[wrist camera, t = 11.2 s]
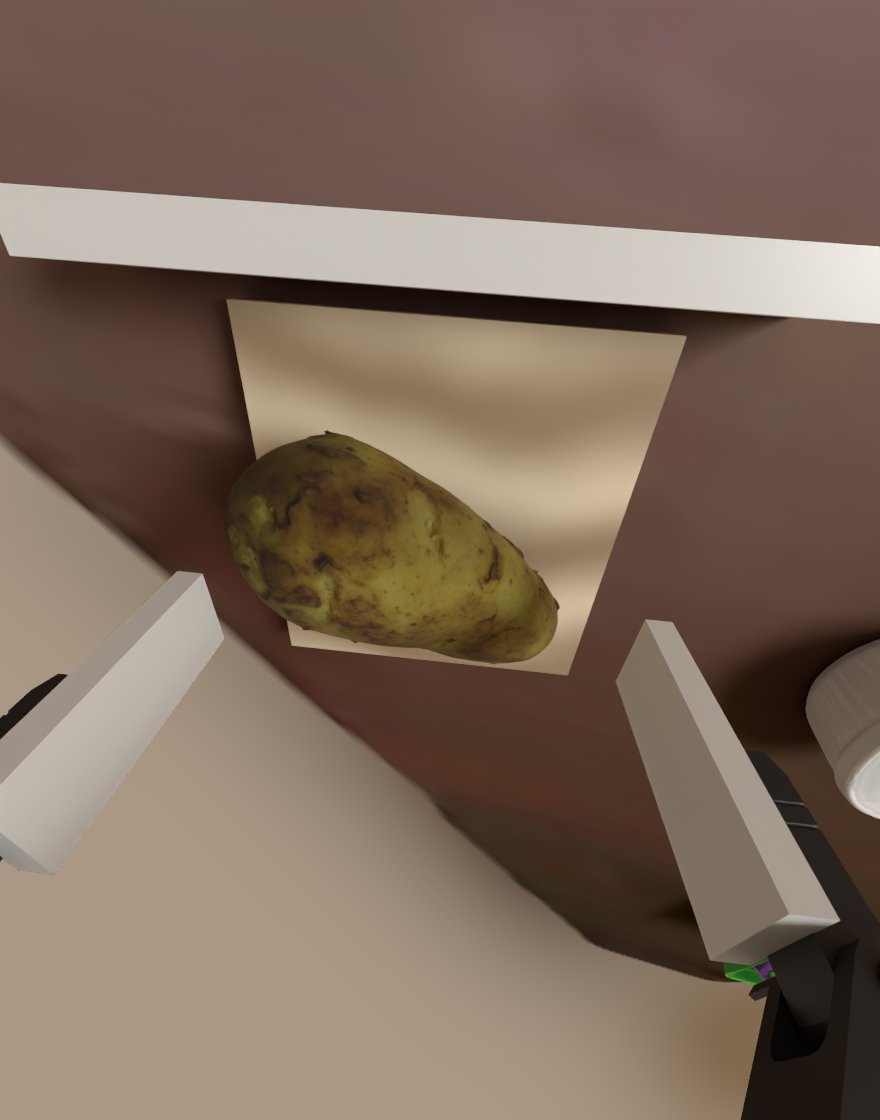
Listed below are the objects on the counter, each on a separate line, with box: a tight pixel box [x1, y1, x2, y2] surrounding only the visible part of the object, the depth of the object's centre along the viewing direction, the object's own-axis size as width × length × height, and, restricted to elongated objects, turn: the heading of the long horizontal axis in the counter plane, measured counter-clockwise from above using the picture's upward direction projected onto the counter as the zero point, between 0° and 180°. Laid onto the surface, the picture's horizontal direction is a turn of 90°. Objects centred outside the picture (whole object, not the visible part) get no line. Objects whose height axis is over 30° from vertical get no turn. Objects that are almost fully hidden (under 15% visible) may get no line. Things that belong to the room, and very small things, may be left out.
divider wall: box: [0, 183, 880, 324], centre depth 12 cm, size 2×24×5 cm, turn 86°
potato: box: [225, 430, 560, 664], centre depth 15 cm, size 8×13×8 cm, turn 30°
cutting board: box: [226, 299, 687, 675], centre depth 19 cm, size 17×16×2 cm
